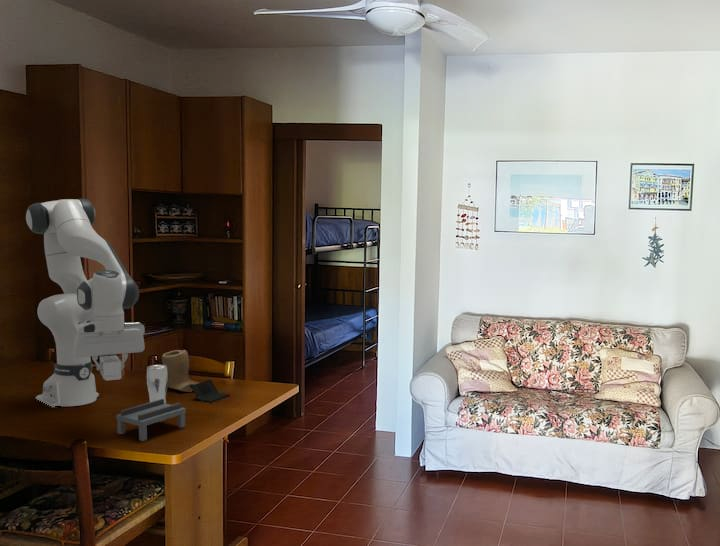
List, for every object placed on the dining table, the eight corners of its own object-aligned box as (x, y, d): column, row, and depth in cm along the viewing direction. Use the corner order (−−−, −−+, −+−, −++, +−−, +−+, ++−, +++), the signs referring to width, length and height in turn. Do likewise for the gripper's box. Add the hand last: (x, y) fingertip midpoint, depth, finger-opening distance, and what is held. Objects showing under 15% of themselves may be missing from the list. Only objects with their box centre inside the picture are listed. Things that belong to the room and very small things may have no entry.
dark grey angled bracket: (216, 399, 249) (203, 375, 251) (201, 410, 250) (188, 386, 253) (232, 396, 260) (218, 373, 262) (218, 406, 261) (204, 383, 264)
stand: (116, 434, 215) (116, 410, 215) (160, 420, 229) (159, 397, 229) (142, 441, 209) (142, 416, 208) (185, 426, 223) (185, 403, 222)
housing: (99, 371, 219) (98, 355, 219) (116, 369, 221) (115, 353, 221) (104, 380, 207) (104, 363, 207) (122, 378, 209) (121, 362, 209)
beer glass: (146, 408, 243) (145, 365, 242) (166, 406, 246) (166, 363, 244) (148, 413, 237) (147, 369, 235) (169, 411, 239) (169, 368, 238)
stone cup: (156, 388, 269) (156, 349, 268) (184, 383, 277) (183, 345, 276) (177, 396, 258) (176, 356, 257) (205, 390, 267) (204, 351, 265)
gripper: (142, 320, 220) (144, 363, 222) (72, 324, 211) (74, 370, 213) (146, 323, 215) (147, 367, 216) (74, 328, 206) (75, 374, 207)
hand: (110, 368), depth 214 cm, fingers closed on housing, 5 cm apart
